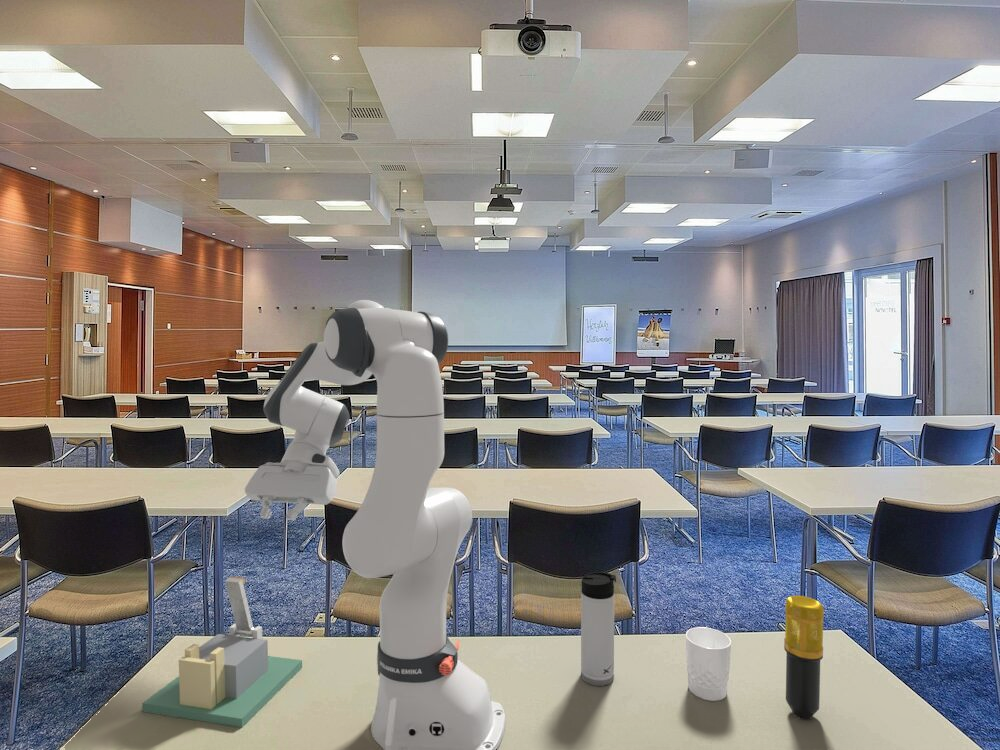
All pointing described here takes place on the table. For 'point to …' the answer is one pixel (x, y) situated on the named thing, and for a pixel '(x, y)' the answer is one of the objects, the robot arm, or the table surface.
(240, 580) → the retention strap
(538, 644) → the table surface
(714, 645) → the white cup
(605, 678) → the travel mug
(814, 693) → the microphone
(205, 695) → the base
